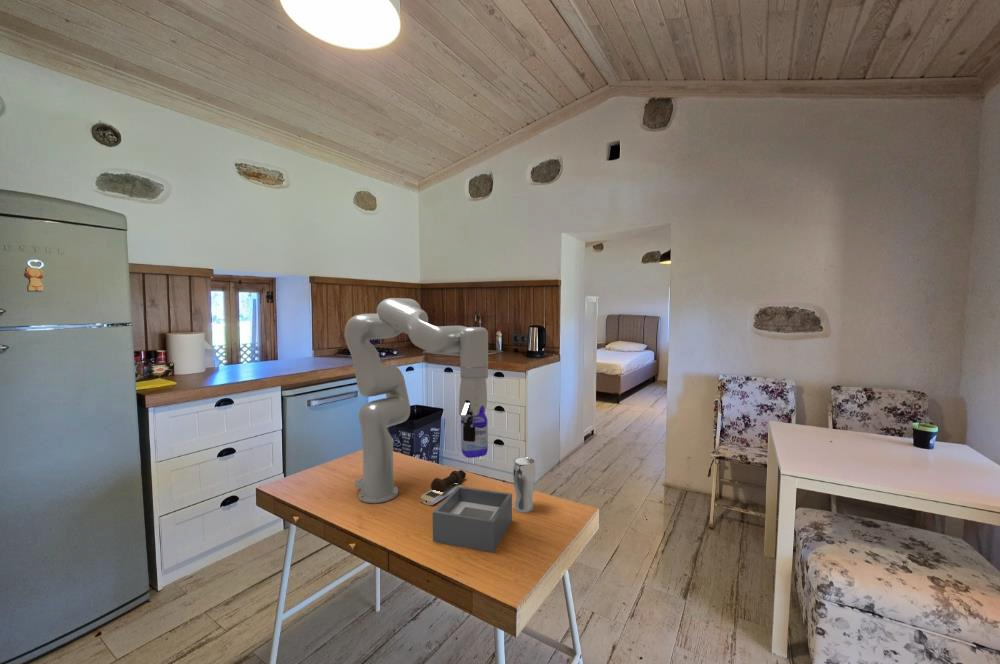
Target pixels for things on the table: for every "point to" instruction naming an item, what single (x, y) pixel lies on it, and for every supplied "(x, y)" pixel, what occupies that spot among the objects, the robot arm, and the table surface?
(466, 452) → the bottle
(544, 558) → the table surface
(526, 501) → the beer glass
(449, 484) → the bolt
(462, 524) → the bore box
